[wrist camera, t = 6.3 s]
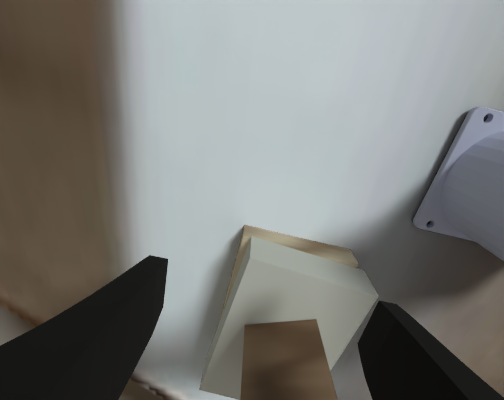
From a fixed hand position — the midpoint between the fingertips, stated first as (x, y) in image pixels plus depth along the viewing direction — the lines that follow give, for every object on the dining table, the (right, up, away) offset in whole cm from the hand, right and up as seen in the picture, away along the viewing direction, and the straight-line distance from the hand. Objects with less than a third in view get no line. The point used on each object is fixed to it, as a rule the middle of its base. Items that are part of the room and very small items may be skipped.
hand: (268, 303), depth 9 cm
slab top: (+1, -5, +11) cm, 12 cm away
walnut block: (+2, -6, +8) cm, 11 cm away
